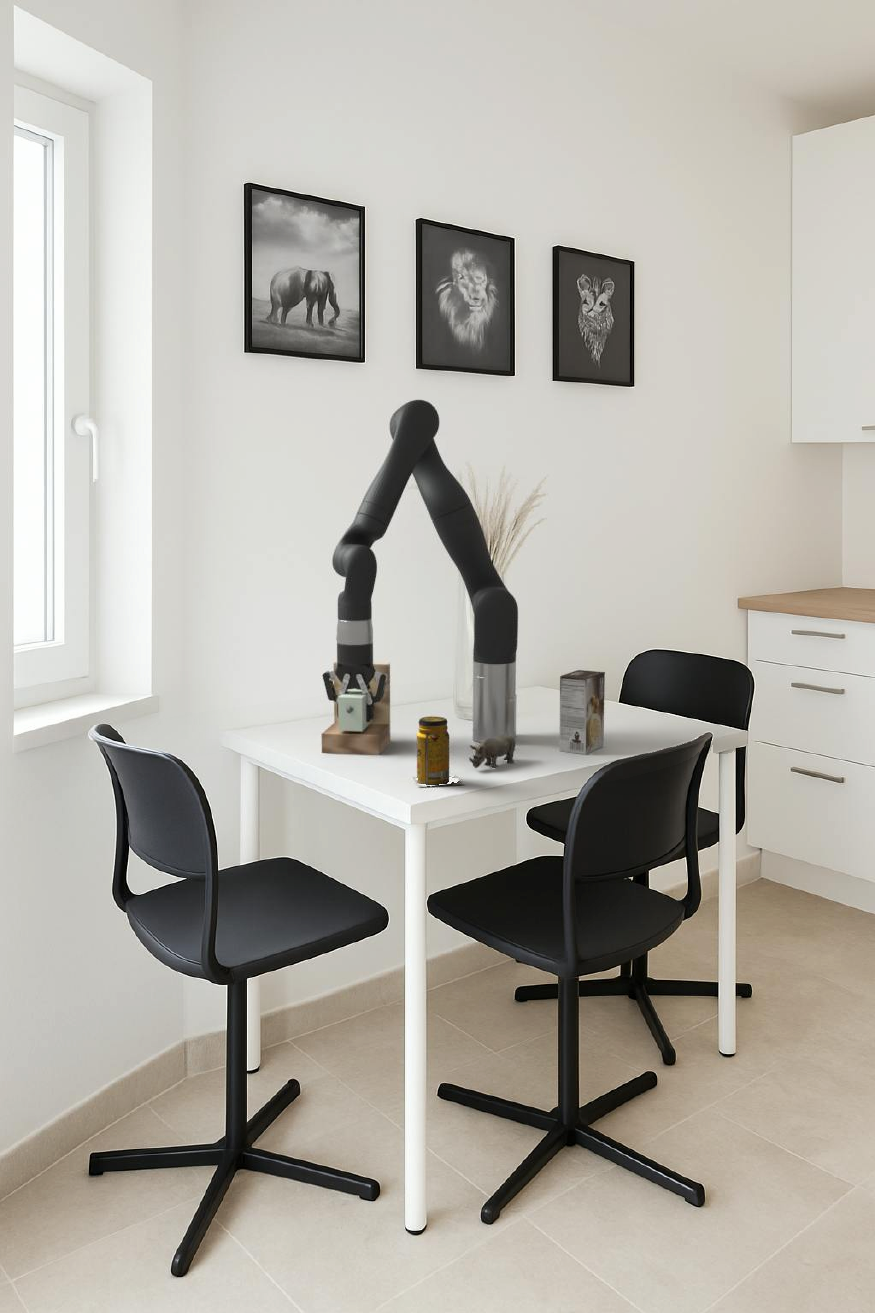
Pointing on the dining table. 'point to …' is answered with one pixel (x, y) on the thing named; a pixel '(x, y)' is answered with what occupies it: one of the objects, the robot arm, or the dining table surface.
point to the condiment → (433, 752)
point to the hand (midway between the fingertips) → (355, 720)
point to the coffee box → (581, 711)
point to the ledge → (356, 740)
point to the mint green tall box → (352, 711)
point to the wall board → (379, 707)
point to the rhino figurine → (494, 750)
